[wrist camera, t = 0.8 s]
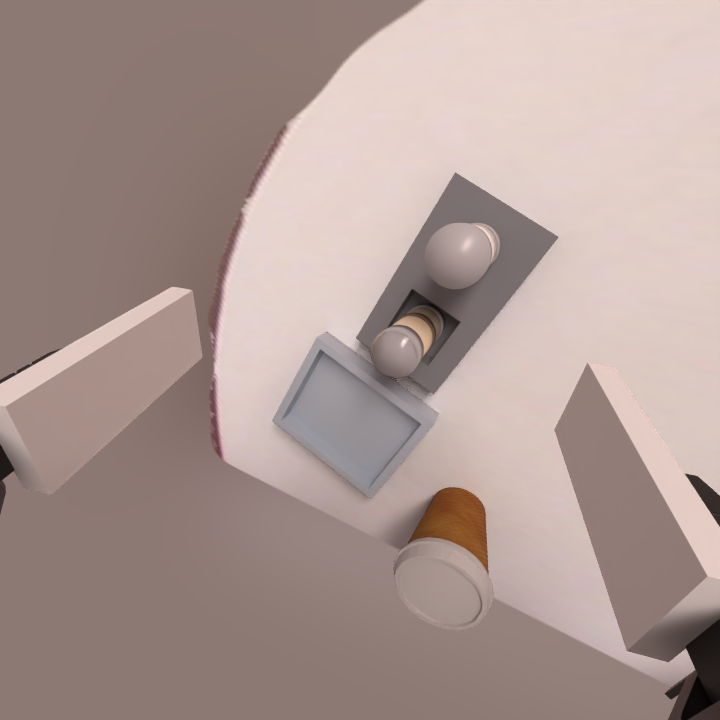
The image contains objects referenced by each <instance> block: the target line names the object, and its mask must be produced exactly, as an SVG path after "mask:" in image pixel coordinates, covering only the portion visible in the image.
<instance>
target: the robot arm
mask: <svg viewBox="0 0 720 720" xmlns="http://www.w3.org/2000/svg"><path fill="white" fill-rule="evenodd" d="M201 358H202V351H201V344H200V337H199V330H198V324H197V318H196V310H195V304H194V297H193V291H192V290H187V289H183V288H177V287H171V288H169V289H167V290H166V291H164V292H162V293H161V294H159V295H157V296H155V297H153V298H152V299H150V300H148V301H146V302H144V303H143V304H141V305H139V306H137V307H136V308H134V309H132V310H130V311H129V312H127V313H125V314H123V315H121V316H120V317H118V318H116V319H114V320H113V321H111V322H109V323H107V324H105V325H104V326H102V327H100V328H98V329H97V330H95V331H93V332H92V333H89V334H88V335H86V336H84V337H82V338H81V339H79V340H77V341H75V342H74V343H72V344H70V345H68V346H67V347H64V348H62V349H58V350H56V351H53V352H50V353H48V354H46V355H44V356H43V357H41V358H39V359H37V360H36V361H34V362H32V364H31V365H27V366H25V367H23V368H21V369H19V370H17V373H12V374H10V375H8V376H7V377H5V378H3V379H1V380H0V513H1V509H2V505H3V501H4V497H5V493H6V488H5V484H4V483H3V481H2V480H3V479H4V478H5V477H6V476H8V475H9V474H10V473H11V472H13V471H15V473H16V475H17V477H18V479H19V480H20V482H21V484H22V486H23V487H24V488H27V489H31V490H35V491H38V492H42V493H46V494H49V495H51V494H52V493H54V491H56V490H57V489H58V488H59V487H60V486H61V485H62V484H63V483H65V482H66V481H67V480H68V479H69V478H70V477H71V476H72V475H73V474H74V473H76V472H77V471H78V470H79V469H80V468H81V467H82V466H83V465H84V464H85V463H87V462H88V461H89V460H90V459H91V458H92V457H93V456H94V455H95V454H96V453H98V452H99V451H100V450H101V449H102V448H103V447H104V446H105V445H106V444H107V443H109V441H111V440H112V439H113V438H114V437H115V436H116V435H117V434H118V433H119V432H121V431H122V430H123V429H124V428H125V427H126V426H127V425H128V424H129V423H130V422H132V421H133V420H134V419H135V418H136V417H137V416H138V415H139V414H140V413H142V412H143V411H144V410H145V409H146V408H147V407H148V406H149V405H150V404H151V403H153V402H154V401H155V400H156V399H157V398H158V397H159V396H160V395H161V394H162V393H163V392H165V391H166V390H167V389H168V388H169V387H170V386H171V385H172V384H173V383H175V382H176V381H177V380H178V379H179V378H180V377H181V376H182V375H183V374H184V373H186V372H187V370H189V369H190V368H191V367H192V366H193V365H194V364H195V363H197V362H198V361H199V360H200V359H201ZM555 432H556V435H557V439H558V442H559V445H560V448H561V451H562V454H563V457H564V460H565V463H566V466H567V469H568V472H569V475H570V478H571V481H572V484H573V487H574V490H575V494H576V497H577V500H578V503H579V506H580V509H581V512H582V515H583V518H584V521H585V524H586V527H587V530H588V533H589V536H590V539H591V542H592V546H593V549H594V552H595V555H596V558H597V561H598V564H599V567H600V570H601V573H602V576H603V579H604V582H605V585H606V588H607V591H608V594H609V597H610V601H611V604H612V607H613V610H614V613H615V616H616V619H617V622H618V625H619V628H620V631H621V634H622V637H623V640H624V643H625V646H626V649H627V651H629V652H633V653H637V654H640V655H644V656H648V657H651V658H655V659H659V660H662V661H666V662H669V661H671V660H672V659H673V658H674V657H676V656H677V655H678V654H679V653H681V652H682V651H683V650H684V649H687V651H688V653H689V656H690V658H691V660H692V662H693V665H694V667H695V669H696V670H695V671H693V672H692V673H691V674H689V675H688V676H686V677H685V678H684V679H682V680H681V681H679V682H678V683H677V684H675V685H674V686H673V687H671V688H670V689H669V690H668V691H667V692H666V693H665V694H666V695H667V696H668V697H669V698H670V699H673V698H674V697H676V696H677V695H679V696H678V698H677V701H676V703H675V705H674V707H673V710H672V712H671V714H670V717H669V719H668V720H720V496H719V495H718V494H717V493H716V492H715V491H714V490H713V489H711V488H710V487H709V486H708V485H707V484H706V483H705V482H704V481H702V480H701V479H700V478H699V477H698V476H694V475H689V474H685V473H684V472H683V471H682V469H681V468H680V466H679V465H678V463H677V461H676V460H675V458H674V457H673V455H672V454H671V452H670V451H669V449H668V448H667V446H666V445H665V443H664V442H663V440H662V439H661V437H660V436H659V434H658V433H657V431H656V430H655V428H654V427H653V425H652V424H651V422H650V421H649V419H648V418H647V416H646V415H645V413H644V412H643V410H642V408H641V407H640V405H639V404H638V402H637V401H636V399H635V398H634V396H633V395H632V393H631V392H630V390H629V389H628V387H627V386H626V384H625V383H624V381H623V380H622V378H621V377H620V375H619V374H618V372H617V371H616V369H615V368H614V367H609V366H603V365H598V364H592V363H587V365H586V367H585V369H584V371H583V373H582V375H581V378H580V380H579V382H578V384H577V386H576V388H575V390H574V392H573V394H572V396H571V398H570V400H569V402H568V404H567V406H566V408H565V410H564V412H563V414H562V416H561V418H560V420H559V422H558V424H557V426H556V428H555Z"/></svg>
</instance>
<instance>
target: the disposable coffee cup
mask: <svg viewBox="0 0 720 720" xmlns="http://www.w3.org/2000/svg"><path fill="white" fill-rule="evenodd" d="M487 553H488V552H487V537H486V514H485V509H484V506H483V504H482V503H481V501H480V500H479V499H478V498H477V497H476V496H475V495H474V494H472V493H470V492H469V491H467V490H464V489H460V488H445V489H442V490H441V491H439V492H438V493H437V494H436V495H435V496H434V498H433V500H432V502H431V504H430V505H429V507H428V509H427V511H426V512H425V514H424V516H423V518H422V519H421V521H420V523H419V525H418V526H417V528H416V530H415V532H414V534H413V535H412V537H411V539H410V541H409V542H408V544H407V545H406V546H404V547H403V548H402V549H401V550H400V551H399V553H398V554H397V556H396V559H395V561H394V575H395V586H396V589H397V592H398V594H399V597H400V598H401V600H402V601H403V602H404V604H405V605H406V606H407V608H408V609H410V610H411V611H412V612H413V613H414V614H415V615H416V616H418V617H419V618H421V619H422V620H424V621H426V622H428V623H430V624H432V625H434V626H437V627H440V628H444V629H449V630H464V629H469V628H472V627H474V626H476V625H477V624H478V623H480V622H481V621H482V619H483V618H484V616H485V614H486V613H487V612H488V611H489V610H490V608H491V605H492V603H493V595H494V594H493V587H492V584H491V580H490V578H489V575H488V559H487V558H488V555H487Z"/></svg>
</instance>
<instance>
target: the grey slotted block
mask: <svg viewBox="0 0 720 720" xmlns="http://www.w3.org/2000/svg"><path fill="white" fill-rule="evenodd" d="M557 239H558V236H556V235H554V234H553V233H551V232H550V231H548V230H546V229H545V228H543V227H542V226H540V225H538V224H537V223H535V222H534V221H532V220H530V219H529V218H527V217H526V216H524V215H522V214H521V213H519V212H518V211H516V210H514V209H513V208H511V207H510V206H508V205H506V204H505V203H503V202H502V201H500V200H498V199H497V198H495V197H494V196H492V195H490V194H489V193H487V192H486V191H484V190H482V189H481V188H479V187H478V186H476V185H474V184H473V183H471V182H470V181H468V180H466V179H465V178H463V177H462V176H460V175H458V174H457V173H455V174H454V176H453V177H452V179H451V181H450V182H449V184H448V186H447V187H446V189H445V191H444V192H443V194H442V196H441V197H440V199H439V201H438V202H437V204H436V206H435V207H434V209H433V211H432V212H431V214H430V216H429V217H428V219H427V221H426V222H425V224H424V226H423V227H422V229H421V231H420V232H419V234H418V236H417V237H416V239H415V241H414V242H413V244H412V246H411V247H410V249H409V251H408V252H407V254H406V256H405V257H404V259H403V261H402V262H401V264H400V266H399V267H398V269H397V271H396V272H395V274H394V276H393V277H392V279H391V281H390V282H389V284H388V286H387V287H386V289H385V291H384V292H383V294H382V296H381V297H380V299H379V301H378V302H377V304H376V306H375V307H374V309H373V311H372V312H371V314H370V316H369V317H368V319H367V321H366V322H365V324H364V326H363V327H362V329H361V331H360V332H359V334H358V336H357V337H356V339H358V340H359V341H361V342H362V343H363V344H365V345H366V346H367V347H369V348H370V349H371V345H372V342H373V340H374V339H375V337H376V336H377V335H378V334H380V333H381V332H382V331H384V330H385V329H386V328H388V327H390V326H392V325H393V324H395V323H396V322H397V321H398V320H399V319H400V318H402V317H403V316H404V315H406V314H407V313H408V312H409V311H410V310H411V309H413V308H414V307H415V306H417V305H419V304H424V303H427V304H432V305H434V306H436V307H437V308H439V309H440V310H441V312H442V313H443V315H444V318H445V328H444V331H443V332H442V334H441V335H440V337H439V338H438V339H437V340H436V341H435V342H434V343H433V345H432V346H431V348H430V349H429V350H428V351H427V352H426V353H425V355H424V356H423V358H422V360H421V362H420V363H419V364H418V366H417V367H416V368H415V370H414V371H413V372H412V373H411V374H409V375H407V376H409V377H410V378H411V379H413V380H414V381H416V382H417V383H418V384H420V385H421V386H422V387H424V388H425V389H427V390H428V391H429V392H431V393H432V394H433V395H434V393H435V392H436V391H437V390H438V388H439V387H440V386H441V385H442V383H443V382H444V381H445V380H446V378H447V377H448V376H449V375H450V373H451V372H452V371H453V369H454V368H455V367H456V366H457V364H458V363H459V362H460V361H461V359H462V358H463V357H464V356H465V354H466V353H467V352H468V351H469V349H470V348H471V347H472V346H473V344H474V343H475V342H476V341H477V339H478V338H479V337H480V335H481V334H482V333H483V332H484V330H485V329H486V328H487V327H488V325H489V324H490V323H491V322H492V320H493V319H494V318H495V317H496V315H497V314H498V313H499V312H500V310H501V309H502V308H503V307H504V305H505V304H506V303H507V301H508V300H509V299H510V298H511V296H512V295H513V294H514V293H515V291H516V290H517V289H518V288H519V286H520V285H521V284H522V283H523V281H524V280H525V279H526V278H527V276H528V275H529V274H530V273H531V271H532V270H533V269H534V268H535V266H536V265H537V264H538V262H539V261H540V260H541V259H542V257H543V256H544V255H545V254H546V252H547V251H548V250H549V249H550V247H551V246H552V245H553V244H554V242H555V241H556V240H557Z"/></svg>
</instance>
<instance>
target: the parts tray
mask: <svg viewBox="0 0 720 720" xmlns="http://www.w3.org/2000/svg"><path fill="white" fill-rule="evenodd" d="M438 414H439V413H437V412H436V411H435V410H433V409H432V408H431V407H429V406H428V405H427V404H425V403H424V402H422V401H421V400H420V399H418V398H417V397H416V396H414V395H413V394H411V393H410V392H409V391H407V390H406V389H405V388H403V387H402V386H401V385H399V384H398V383H396V382H395V381H394V380H392V379H391V378H390V377H388V376H387V375H385V374H383V373H382V372H380V371H379V370H378V369H377V368H376V367H375V366H373V365H372V364H371V363H369V362H368V361H366V360H365V359H364V358H362V357H361V356H360V355H358V354H357V353H356V352H354V351H353V350H351V349H350V348H349V347H347V346H346V345H345V344H343V343H342V342H341V341H339V340H338V339H336V338H335V337H334V336H332V335H331V334H330V333H328V332H325V333H324V334H322V335H320V336H318V337H317V338H316V340H315V342H314V344H313V345H312V347H311V349H310V351H309V353H308V355H307V357H306V358H305V360H304V362H303V364H302V366H301V368H300V370H299V371H298V373H297V375H296V377H295V379H294V381H293V383H292V385H291V386H290V388H289V390H288V392H287V394H286V396H285V398H284V399H283V401H282V403H281V405H280V407H279V409H278V411H277V412H276V414H275V416H274V418H273V420H272V421H273V422H274V423H275V424H277V425H278V426H279V427H280V428H282V429H283V430H284V431H286V432H287V433H288V434H289V435H291V436H292V437H293V438H294V439H296V440H297V441H298V442H299V443H301V444H302V445H303V446H304V447H306V448H307V449H308V450H310V451H311V452H312V453H313V454H315V455H316V456H317V457H318V458H320V459H321V460H322V461H323V462H325V463H326V464H327V465H328V466H330V467H331V468H332V469H333V470H335V471H336V472H337V473H339V474H340V475H341V476H342V477H344V478H345V479H346V480H347V481H349V482H350V483H351V484H352V485H354V486H355V487H356V488H357V489H359V490H360V491H361V492H363V493H364V494H365V495H366V496H368V497H369V498H370V499H372V497H373V496H374V495H375V494H376V493H377V491H378V490H379V489H380V488H381V487H382V485H383V484H384V483H385V482H386V481H387V480H388V478H389V477H390V476H391V475H392V474H393V472H394V471H395V470H396V469H397V468H398V466H399V465H400V464H401V463H402V462H403V460H404V459H405V458H406V457H407V456H408V454H409V453H410V452H411V451H412V450H413V449H414V447H415V446H416V445H417V444H418V443H419V441H420V440H421V439H422V438H423V437H424V435H425V434H426V433H427V432H428V431H429V429H430V428H431V427H432V426H433V425H434V423H435V421H436V419H437V417H438Z"/></svg>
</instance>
